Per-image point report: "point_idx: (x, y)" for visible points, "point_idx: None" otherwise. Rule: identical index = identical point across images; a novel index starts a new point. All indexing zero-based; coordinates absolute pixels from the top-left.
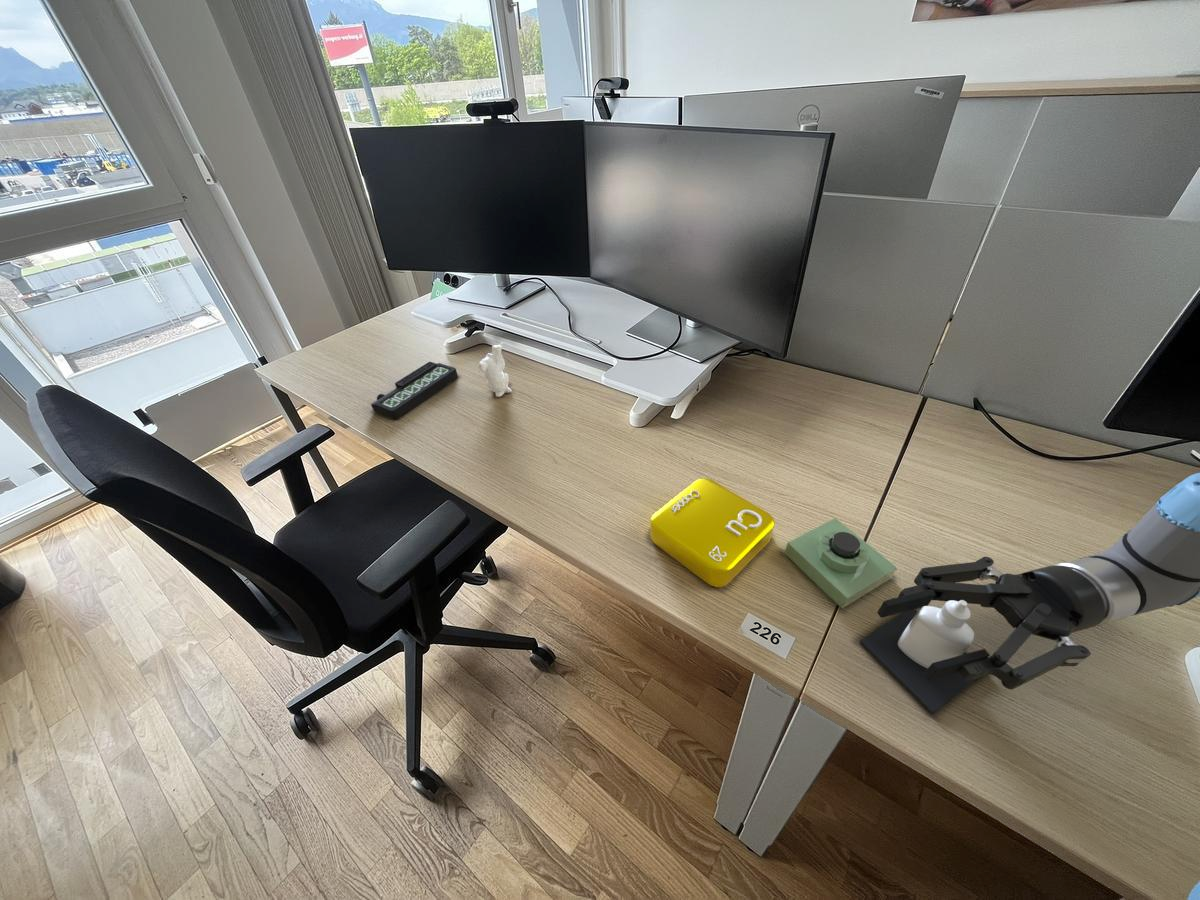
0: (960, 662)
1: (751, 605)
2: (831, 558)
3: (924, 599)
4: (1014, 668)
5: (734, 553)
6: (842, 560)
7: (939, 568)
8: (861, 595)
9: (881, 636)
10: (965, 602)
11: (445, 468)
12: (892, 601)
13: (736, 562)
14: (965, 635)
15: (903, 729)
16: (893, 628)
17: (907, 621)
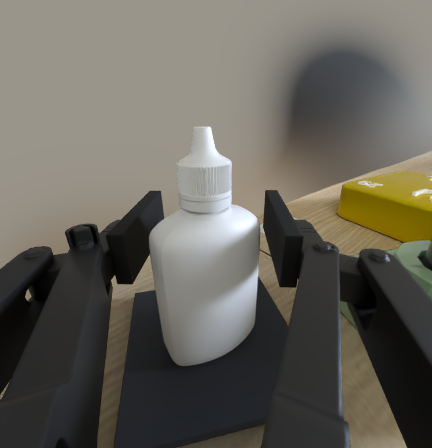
0: (136, 206)
1: (317, 225)
2: (408, 243)
3: (278, 234)
4: (47, 254)
5: (375, 190)
6: (409, 252)
7: (414, 293)
8: (351, 316)
9: (258, 298)
10: (201, 127)
11: (422, 157)
12: (274, 194)
13: (361, 191)
14: (164, 220)
15: (145, 268)
16: (271, 324)
17: None
